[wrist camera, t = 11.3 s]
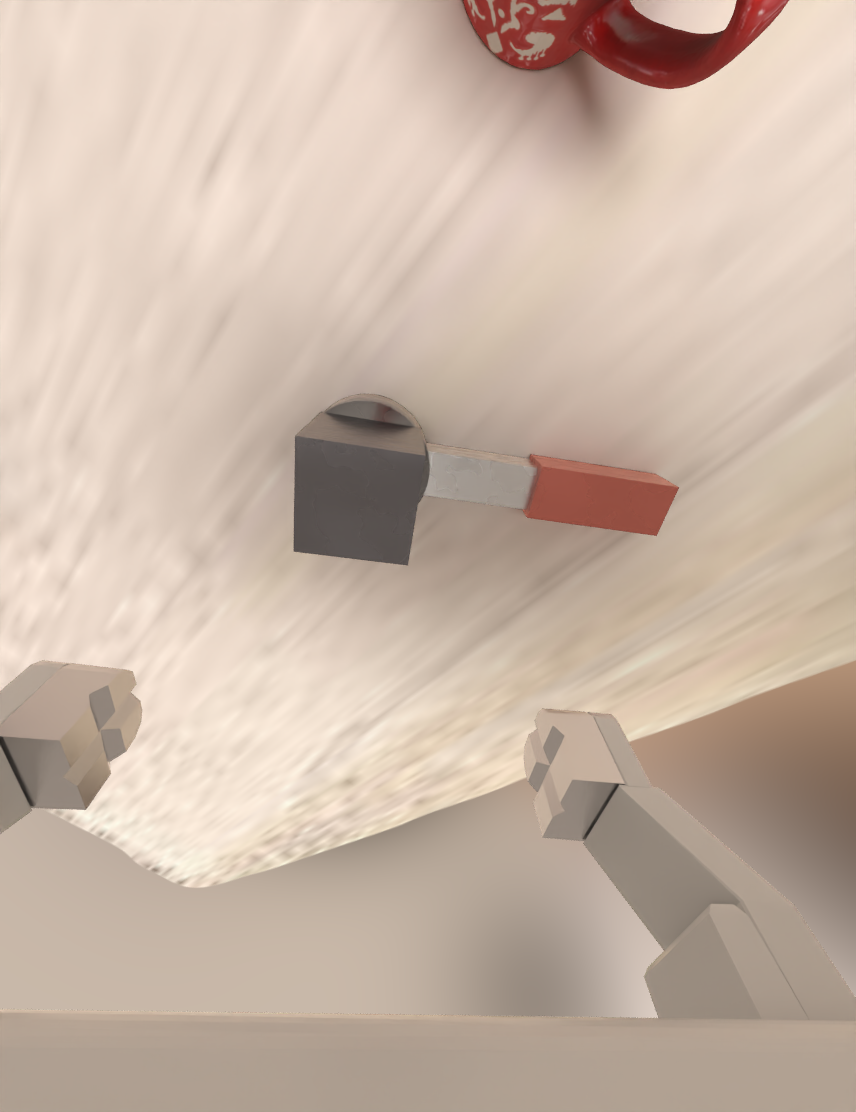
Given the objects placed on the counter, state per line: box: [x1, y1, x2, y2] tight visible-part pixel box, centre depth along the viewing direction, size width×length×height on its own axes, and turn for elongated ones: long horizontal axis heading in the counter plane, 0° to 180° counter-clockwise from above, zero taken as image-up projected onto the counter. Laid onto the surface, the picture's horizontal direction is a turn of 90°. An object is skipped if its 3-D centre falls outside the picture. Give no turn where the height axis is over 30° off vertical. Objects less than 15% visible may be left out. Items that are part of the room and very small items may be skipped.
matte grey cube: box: [294, 412, 426, 565], centre depth 22 cm, size 6×6×6 cm
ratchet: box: [325, 394, 679, 536], centre depth 25 cm, size 23×8×8 cm, turn 81°
